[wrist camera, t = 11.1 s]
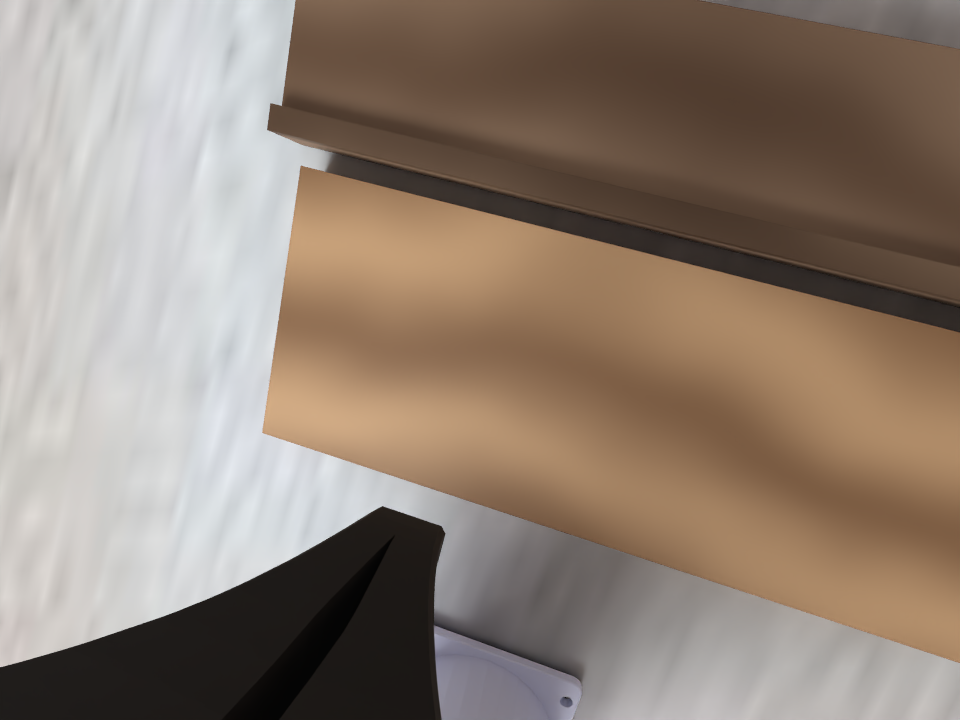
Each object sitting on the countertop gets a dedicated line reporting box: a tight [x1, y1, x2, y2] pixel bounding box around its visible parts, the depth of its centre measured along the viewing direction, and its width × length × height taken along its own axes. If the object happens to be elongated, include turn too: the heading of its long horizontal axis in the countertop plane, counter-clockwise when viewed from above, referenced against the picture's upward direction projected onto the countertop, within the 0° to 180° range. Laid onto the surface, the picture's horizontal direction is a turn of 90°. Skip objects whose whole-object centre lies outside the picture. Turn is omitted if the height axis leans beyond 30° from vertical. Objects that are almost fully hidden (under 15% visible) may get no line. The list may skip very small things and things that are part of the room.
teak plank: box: [262, 166, 960, 663], centre depth 16 cm, size 10×26×2 cm, turn 76°
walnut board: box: [267, 0, 960, 307], centre depth 14 cm, size 6×28×2 cm, turn 75°
